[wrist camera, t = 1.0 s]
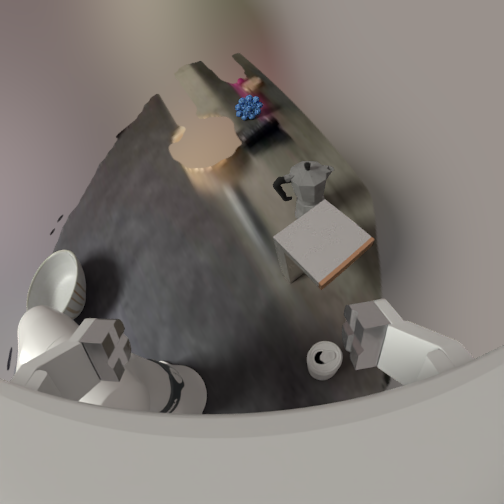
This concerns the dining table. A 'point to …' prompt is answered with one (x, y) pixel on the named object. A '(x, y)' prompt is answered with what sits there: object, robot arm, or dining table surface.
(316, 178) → the coffeepot
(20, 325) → the robot arm
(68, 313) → the decorative bowl
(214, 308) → the dining table surface
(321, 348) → the beverage can
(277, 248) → the wood-edged grey shelf
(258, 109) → the blue bumpy cluster
